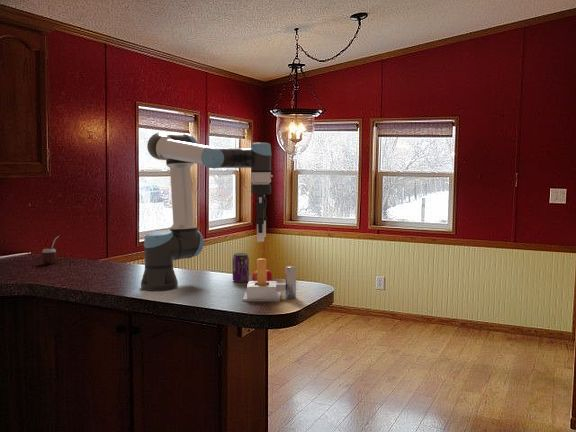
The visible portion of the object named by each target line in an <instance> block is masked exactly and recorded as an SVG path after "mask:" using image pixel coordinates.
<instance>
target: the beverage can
mask: <svg viewBox="0 0 576 432" xmlns="http://www.w3.org/2000/svg"><path fill="white" fill-rule="evenodd" d="M248 255H249V254H248V253H245V252H244V253H243V252H240V253H239V252H238V253H237V252H236V253H233V256H232V281H233V282H236V283H245V282H247V281H250V265H249V263H250V261H249V260H250V259H249V256H248Z"/></svg>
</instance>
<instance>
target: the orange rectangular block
mask: <svg viewBox="0 0 576 432" xmlns="http://www.w3.org/2000/svg"><path fill="white" fill-rule="evenodd" d="M256 270H257V285H267V274H266V270H267V259H266V258H257V259H256Z"/></svg>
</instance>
